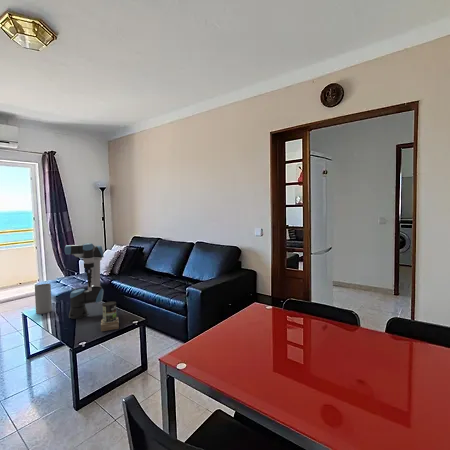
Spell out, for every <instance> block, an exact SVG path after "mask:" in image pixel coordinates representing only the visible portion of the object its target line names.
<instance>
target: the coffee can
mask: <svg viewBox="0 0 450 450" xmlns="http://www.w3.org/2000/svg"><path fill="white" fill-rule="evenodd" d="M101 305H102V319H103V322H104V323H111V322H114V321H116V320H117V319H116V317H117V302H116V301H113V300H112V301H110V300H109V301H106V302H103V303H102V304H101Z"/></svg>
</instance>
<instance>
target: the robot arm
mask: <svg viewBox="0 0 450 450" xmlns="http://www.w3.org/2000/svg"><path fill="white" fill-rule="evenodd" d="M64 253H65V255H72V256H74V257H75V258H79V259H82V261H83V269H86V270H85V272H86V277H87V282H86V284H87V290H86V289H85V288H78V289H75V290H72V291H71V292H70V295H69V298H70V299H69V300H70V309H69V313H68V318H69V319H70V318H71V320H76V319H77V320H78V319H82V318H85V317H88V315H89V312H88V309H87V307H86V304H93V303H96V304H97V303H101V302H102V301H103V298H104V288H103V287H102V286H101V261H102V260H103V258H104V250H103V246H102V245H95V244H94V243H91V242H89V243H88V242H87V243H84V244H69V245H65V246H64Z"/></svg>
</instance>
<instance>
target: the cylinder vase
mask: <svg viewBox="0 0 450 450" xmlns="http://www.w3.org/2000/svg"><path fill="white" fill-rule="evenodd" d="M34 299H35V301H34V302H35V303H34V304H35V313H36V314H37V315H44V314H48V313H50V312H52V311H53V309H52V308H53V305H52V285H51V284H50V283H40V284H36V285H34Z"/></svg>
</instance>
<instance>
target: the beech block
mask: <svg viewBox="0 0 450 450" xmlns="http://www.w3.org/2000/svg"><path fill="white" fill-rule="evenodd" d="M116 319H117V320H116V321H114V322H111V323H104V322H103V318H102V319H100V332H105V331H111V330H118V329H120V321H119V316H116Z"/></svg>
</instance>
